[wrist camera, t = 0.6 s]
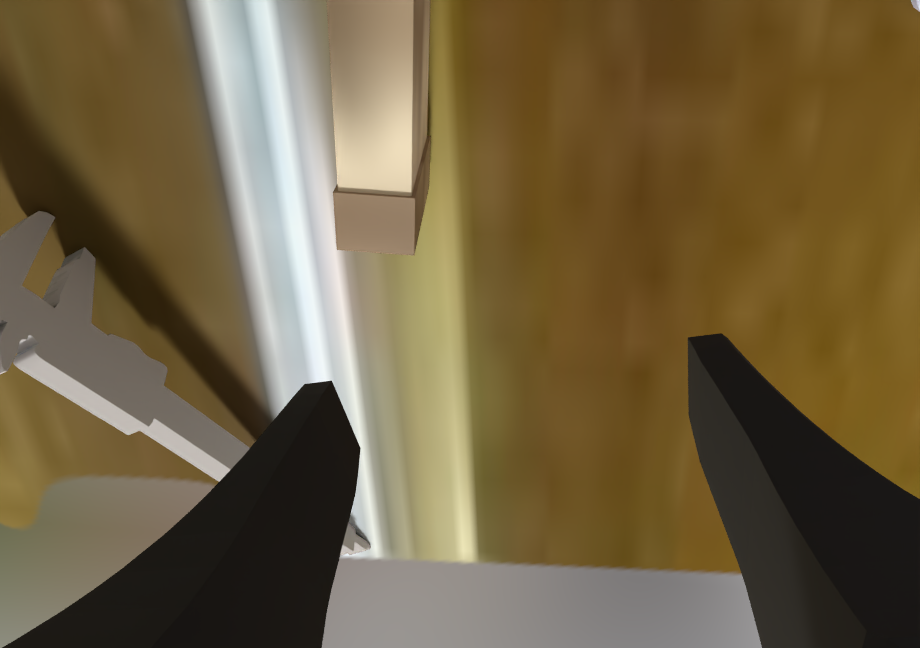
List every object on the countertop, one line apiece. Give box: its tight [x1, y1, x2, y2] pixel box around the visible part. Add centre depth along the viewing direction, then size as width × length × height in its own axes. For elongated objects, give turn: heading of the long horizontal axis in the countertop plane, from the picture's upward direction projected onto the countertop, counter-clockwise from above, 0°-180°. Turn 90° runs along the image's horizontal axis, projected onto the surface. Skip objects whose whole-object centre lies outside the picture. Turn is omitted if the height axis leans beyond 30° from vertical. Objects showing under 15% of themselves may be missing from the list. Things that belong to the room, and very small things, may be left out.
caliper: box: [0, 211, 371, 555], centre depth 25 cm, size 20×1×6 cm, turn 28°
